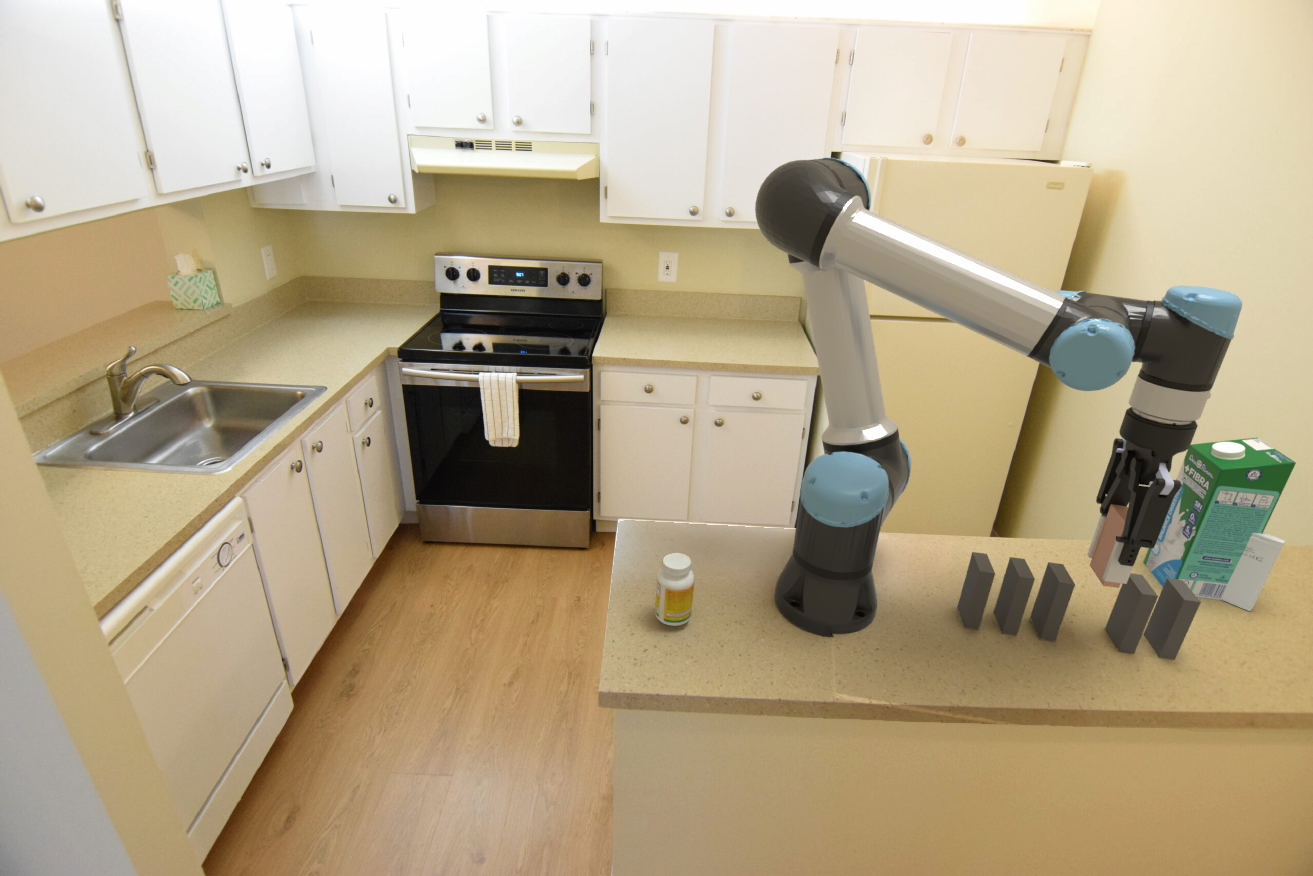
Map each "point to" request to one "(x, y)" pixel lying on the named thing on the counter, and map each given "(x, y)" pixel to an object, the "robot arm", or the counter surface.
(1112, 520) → the domino
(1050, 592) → the domino
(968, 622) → the domino
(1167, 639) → the domino
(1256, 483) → the milk carton
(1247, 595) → the external hard drive
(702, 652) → the counter surface
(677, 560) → the supplement bottle
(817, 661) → the counter surface
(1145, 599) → the domino
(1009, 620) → the domino
